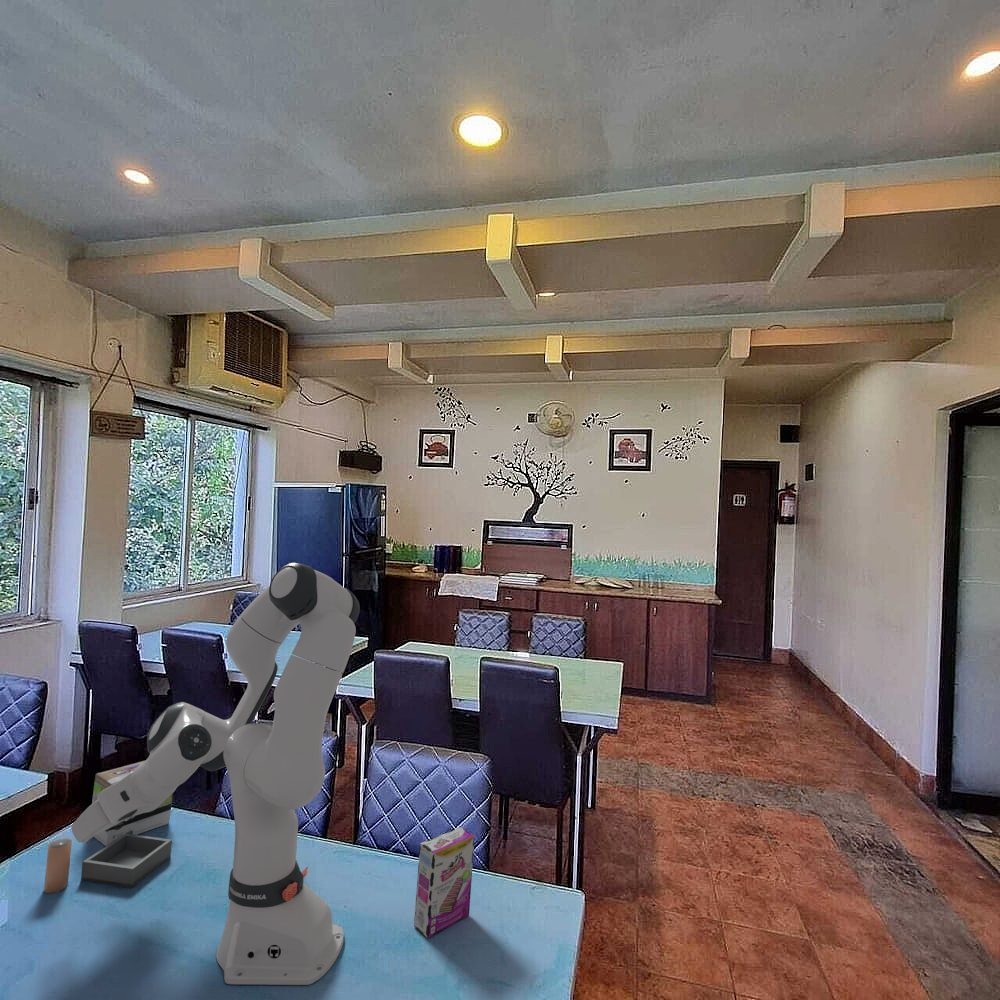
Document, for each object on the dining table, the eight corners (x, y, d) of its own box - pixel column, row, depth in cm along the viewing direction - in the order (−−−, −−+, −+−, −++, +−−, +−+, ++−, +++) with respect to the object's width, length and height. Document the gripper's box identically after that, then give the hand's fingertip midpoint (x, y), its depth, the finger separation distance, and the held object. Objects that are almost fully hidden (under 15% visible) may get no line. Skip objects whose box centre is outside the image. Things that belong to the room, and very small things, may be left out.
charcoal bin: (170, 857, 134) (172, 839, 134) (131, 888, 122) (132, 869, 122) (124, 850, 136) (125, 833, 136) (80, 880, 124) (82, 861, 124)
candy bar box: (428, 940, 111) (433, 853, 112) (413, 927, 115) (418, 842, 116) (471, 916, 119) (475, 834, 120) (455, 904, 123) (460, 825, 124)
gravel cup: (72, 883, 123) (76, 839, 123) (55, 894, 119) (60, 849, 119) (56, 880, 123) (60, 837, 124) (38, 891, 120) (43, 847, 120)
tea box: (106, 848, 136) (112, 784, 137) (87, 834, 142) (93, 773, 143) (171, 823, 149) (176, 765, 150) (151, 811, 154) (156, 755, 155)
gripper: (180, 756, 128) (142, 793, 130) (92, 794, 108) (49, 837, 111) (195, 780, 126) (156, 817, 129) (108, 823, 107) (64, 866, 109)
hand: (106, 827), depth 119 cm, fingers open, 8 cm apart
